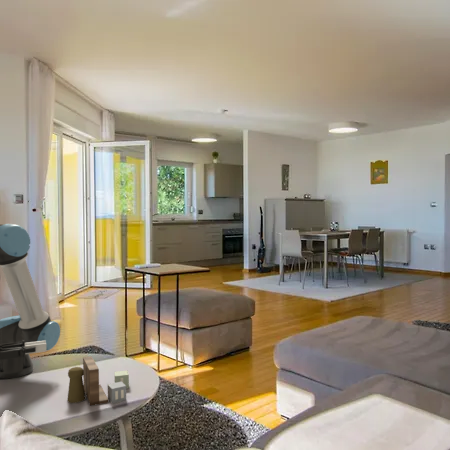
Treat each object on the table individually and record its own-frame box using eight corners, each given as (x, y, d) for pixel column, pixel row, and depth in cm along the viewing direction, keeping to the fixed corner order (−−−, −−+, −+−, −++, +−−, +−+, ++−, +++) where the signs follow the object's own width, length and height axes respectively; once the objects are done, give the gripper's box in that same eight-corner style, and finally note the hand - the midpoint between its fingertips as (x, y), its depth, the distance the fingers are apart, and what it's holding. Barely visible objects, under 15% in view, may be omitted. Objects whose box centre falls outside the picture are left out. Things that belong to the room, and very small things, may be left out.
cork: (79, 403, 152) (79, 371, 152) (63, 402, 153) (63, 370, 153) (88, 396, 158) (88, 365, 158) (73, 395, 159) (72, 364, 159)
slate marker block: (107, 384, 156) (121, 381, 159) (107, 398, 156) (121, 395, 159) (111, 389, 152) (126, 385, 154) (112, 403, 152) (126, 400, 154)
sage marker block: (127, 370, 170) (128, 383, 170) (114, 371, 169) (114, 385, 169) (128, 374, 165) (129, 388, 165) (114, 376, 164) (115, 389, 164)
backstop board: (83, 389, 164) (83, 357, 164) (100, 387, 167) (99, 355, 167) (90, 405, 150) (89, 370, 150) (108, 402, 152) (107, 367, 152)
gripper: (-32, 360, 149) (44, 350, 159) (-37, 375, 134) (47, 363, 144) (-32, 338, 149) (44, 329, 159) (-37, 350, 134) (47, 340, 144)
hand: (45, 345), depth 151 cm, fingers open, 3 cm apart
